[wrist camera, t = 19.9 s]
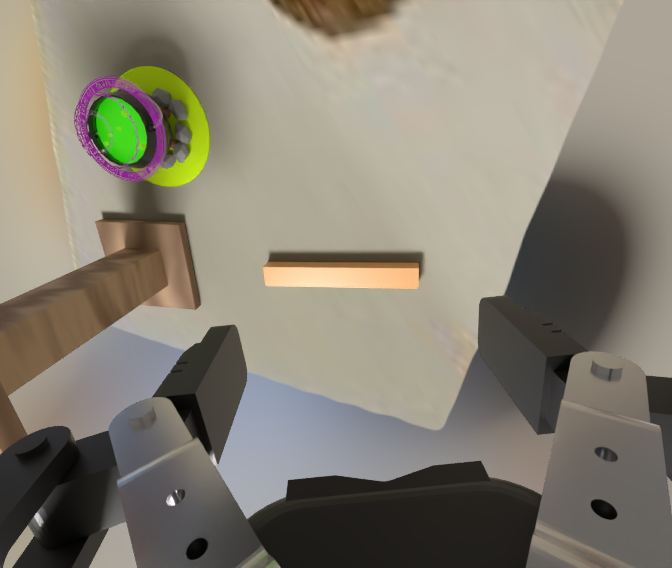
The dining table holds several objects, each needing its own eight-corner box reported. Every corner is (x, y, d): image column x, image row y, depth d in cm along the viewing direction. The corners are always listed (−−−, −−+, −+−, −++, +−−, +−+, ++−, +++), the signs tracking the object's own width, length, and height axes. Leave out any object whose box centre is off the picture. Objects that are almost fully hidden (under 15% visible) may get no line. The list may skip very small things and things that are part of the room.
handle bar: (418, 261, 49) (418, 268, 47) (417, 281, 51) (418, 288, 48) (268, 260, 54) (262, 267, 51) (271, 279, 55) (265, 285, 53)
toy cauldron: (194, 57, 44) (131, 39, 34) (222, 182, 50) (176, 198, 40) (92, 74, 47) (7, 62, 37) (129, 190, 53) (66, 206, 43)
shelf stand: (193, 222, 53) (-59, 343, 24) (208, 305, 59) (19, 482, 30) (102, 219, 56) (-222, 324, 27) (125, 299, 61) (-121, 455, 33)
